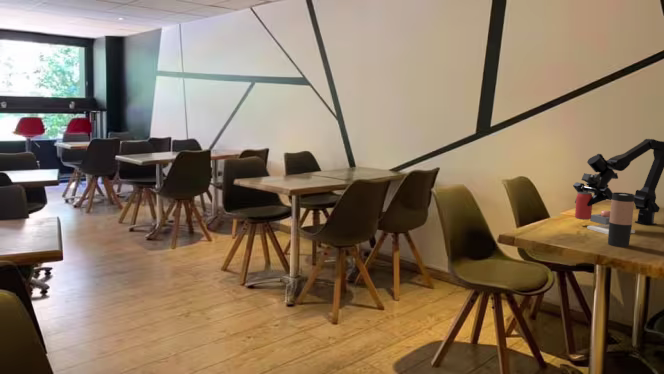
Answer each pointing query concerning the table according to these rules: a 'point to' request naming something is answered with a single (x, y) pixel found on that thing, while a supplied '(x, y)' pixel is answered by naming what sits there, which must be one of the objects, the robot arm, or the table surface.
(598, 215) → the grey square frame
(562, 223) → the table surface
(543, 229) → the table surface
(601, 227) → the paper card
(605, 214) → the button
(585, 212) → the beer can
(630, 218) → the travel mug
